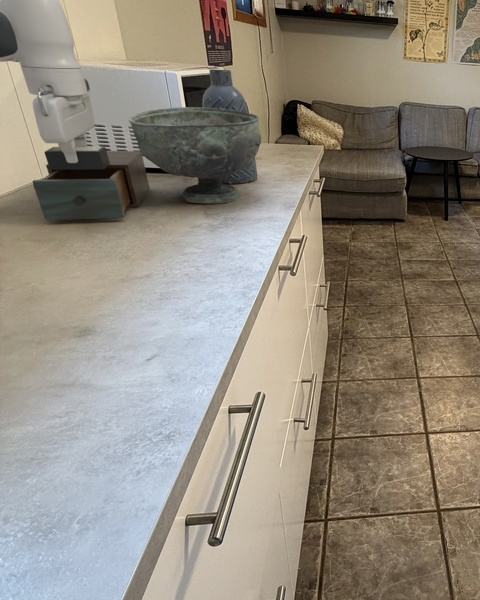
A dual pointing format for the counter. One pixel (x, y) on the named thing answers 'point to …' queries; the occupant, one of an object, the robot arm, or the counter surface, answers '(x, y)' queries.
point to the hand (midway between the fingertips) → (78, 158)
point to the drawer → (83, 194)
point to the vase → (230, 99)
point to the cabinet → (129, 173)
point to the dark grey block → (87, 159)
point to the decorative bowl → (199, 146)
